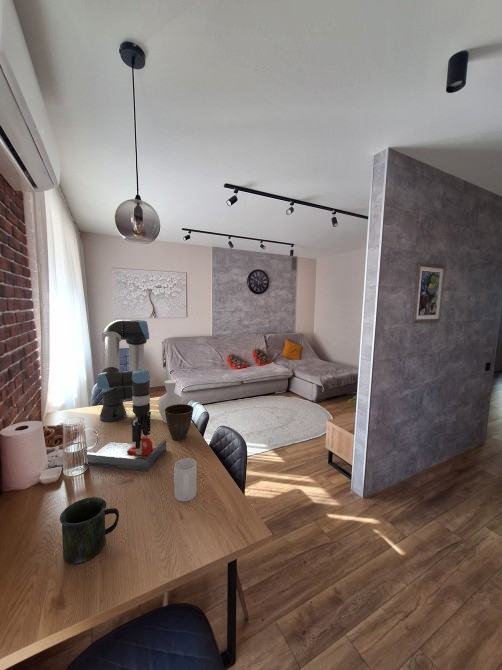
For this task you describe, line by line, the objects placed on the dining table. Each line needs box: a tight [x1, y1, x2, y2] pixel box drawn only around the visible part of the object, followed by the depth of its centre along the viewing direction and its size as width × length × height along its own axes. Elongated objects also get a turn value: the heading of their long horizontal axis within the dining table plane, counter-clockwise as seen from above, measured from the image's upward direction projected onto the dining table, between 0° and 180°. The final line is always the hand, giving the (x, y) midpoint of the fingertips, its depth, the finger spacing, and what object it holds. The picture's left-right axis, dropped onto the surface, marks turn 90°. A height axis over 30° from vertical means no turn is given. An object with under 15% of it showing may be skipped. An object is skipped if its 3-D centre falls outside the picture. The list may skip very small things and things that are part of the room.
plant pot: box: [165, 403, 194, 441], centre depth 146 cm, size 15×15×16 cm
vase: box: [158, 379, 183, 424], centre depth 167 cm, size 14×14×25 cm
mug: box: [59, 496, 120, 565], centre depth 78 cm, size 11×15×12 cm
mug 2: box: [173, 457, 198, 502], centre depth 99 cm, size 8×12×12 cm
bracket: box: [127, 437, 155, 455], centre depth 127 cm, size 12×4×8 cm, turn 82°
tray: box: [86, 439, 167, 472], centre depth 126 cm, size 18×30×5 cm, turn 82°
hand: (142, 451), depth 127 cm, fingers closed on bracket, 4 cm apart
